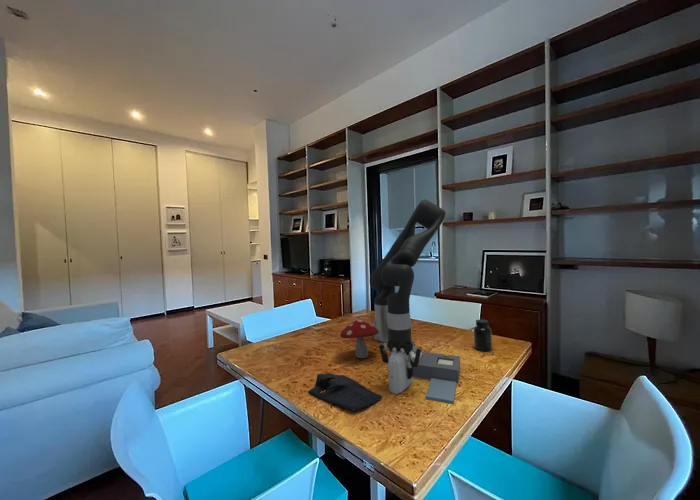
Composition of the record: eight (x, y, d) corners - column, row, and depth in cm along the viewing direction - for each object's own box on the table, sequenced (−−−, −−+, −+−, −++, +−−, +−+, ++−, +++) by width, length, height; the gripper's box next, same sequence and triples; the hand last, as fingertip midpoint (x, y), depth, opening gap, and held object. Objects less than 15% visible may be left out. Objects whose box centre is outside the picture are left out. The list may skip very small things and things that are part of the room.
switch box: (398, 374, 104) (397, 360, 104) (406, 361, 115) (405, 347, 115) (458, 383, 96) (457, 367, 96) (460, 368, 107) (459, 353, 107)
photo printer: (399, 395, 90) (397, 356, 90) (387, 391, 93) (385, 353, 93) (414, 382, 98) (413, 346, 98) (403, 378, 101) (402, 343, 100)
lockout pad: (425, 398, 88) (425, 396, 88) (431, 380, 99) (431, 378, 99) (453, 403, 85) (453, 401, 85) (456, 384, 96) (456, 381, 96)
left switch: (405, 362, 106) (405, 356, 106) (408, 357, 111) (408, 351, 111) (419, 364, 104) (419, 358, 104) (422, 358, 109) (422, 352, 109)
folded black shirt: (350, 421, 79) (349, 404, 79) (304, 392, 96) (304, 378, 95) (386, 399, 90) (386, 383, 89) (340, 376, 106) (339, 363, 106)
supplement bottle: (488, 345, 127) (487, 318, 127) (494, 351, 120) (494, 323, 120) (472, 345, 128) (471, 318, 127) (477, 352, 121) (476, 323, 120)
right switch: (437, 371, 102) (437, 364, 102) (439, 365, 107) (438, 359, 107) (452, 373, 100) (452, 366, 100) (453, 367, 105) (453, 361, 105)
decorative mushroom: (334, 360, 119) (332, 324, 118) (352, 346, 133) (350, 314, 132) (370, 367, 111) (368, 328, 110) (385, 351, 125) (383, 317, 125)
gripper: (423, 323, 95) (425, 375, 96) (381, 320, 101) (383, 368, 102) (419, 331, 88) (421, 385, 89) (374, 327, 94) (376, 378, 95)
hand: (401, 376), depth 95 cm, fingers closed on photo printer, 5 cm apart
